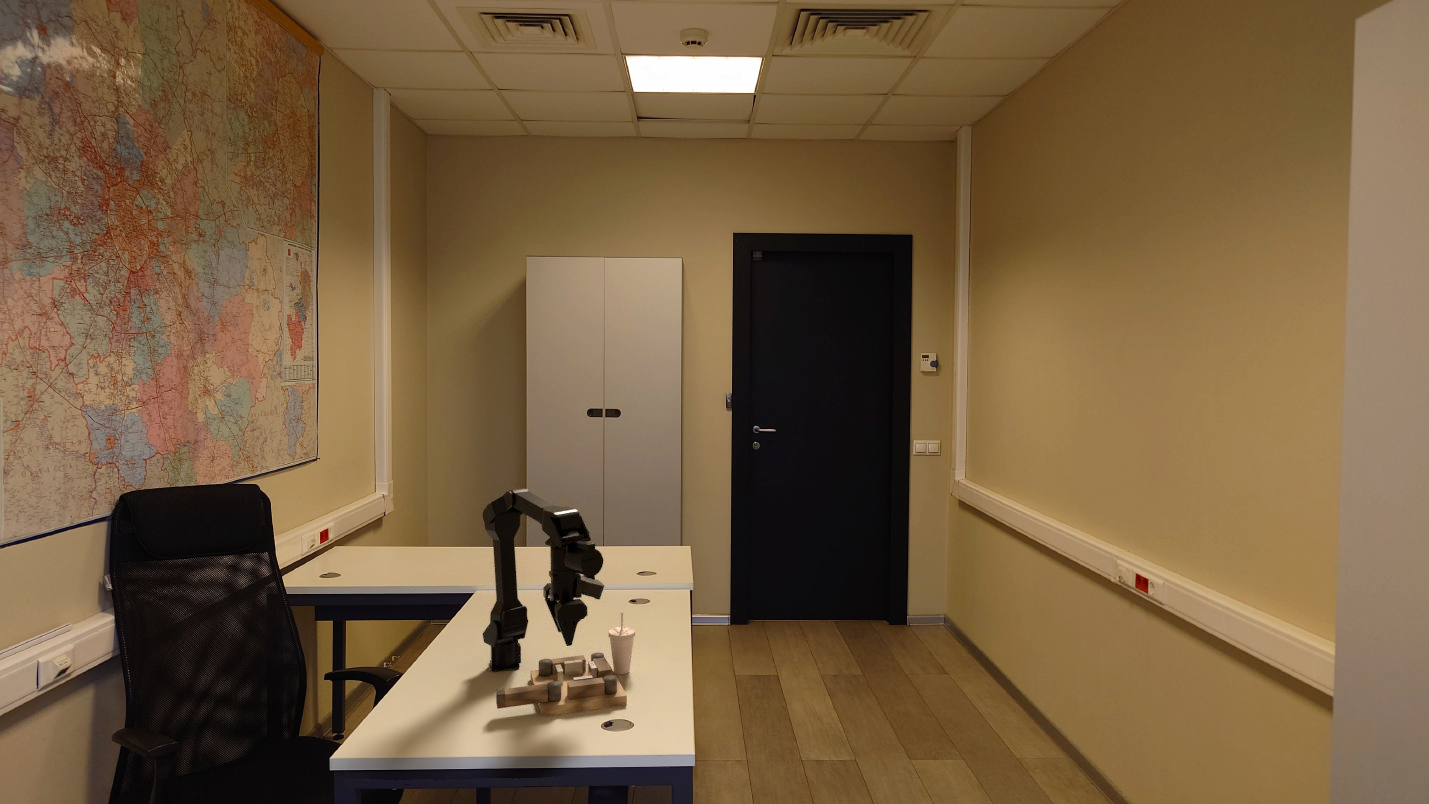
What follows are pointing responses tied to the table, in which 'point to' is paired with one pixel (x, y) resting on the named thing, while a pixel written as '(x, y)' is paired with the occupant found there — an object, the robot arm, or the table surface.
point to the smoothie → (621, 647)
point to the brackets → (575, 670)
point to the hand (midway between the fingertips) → (564, 638)
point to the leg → (528, 694)
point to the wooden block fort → (580, 686)
